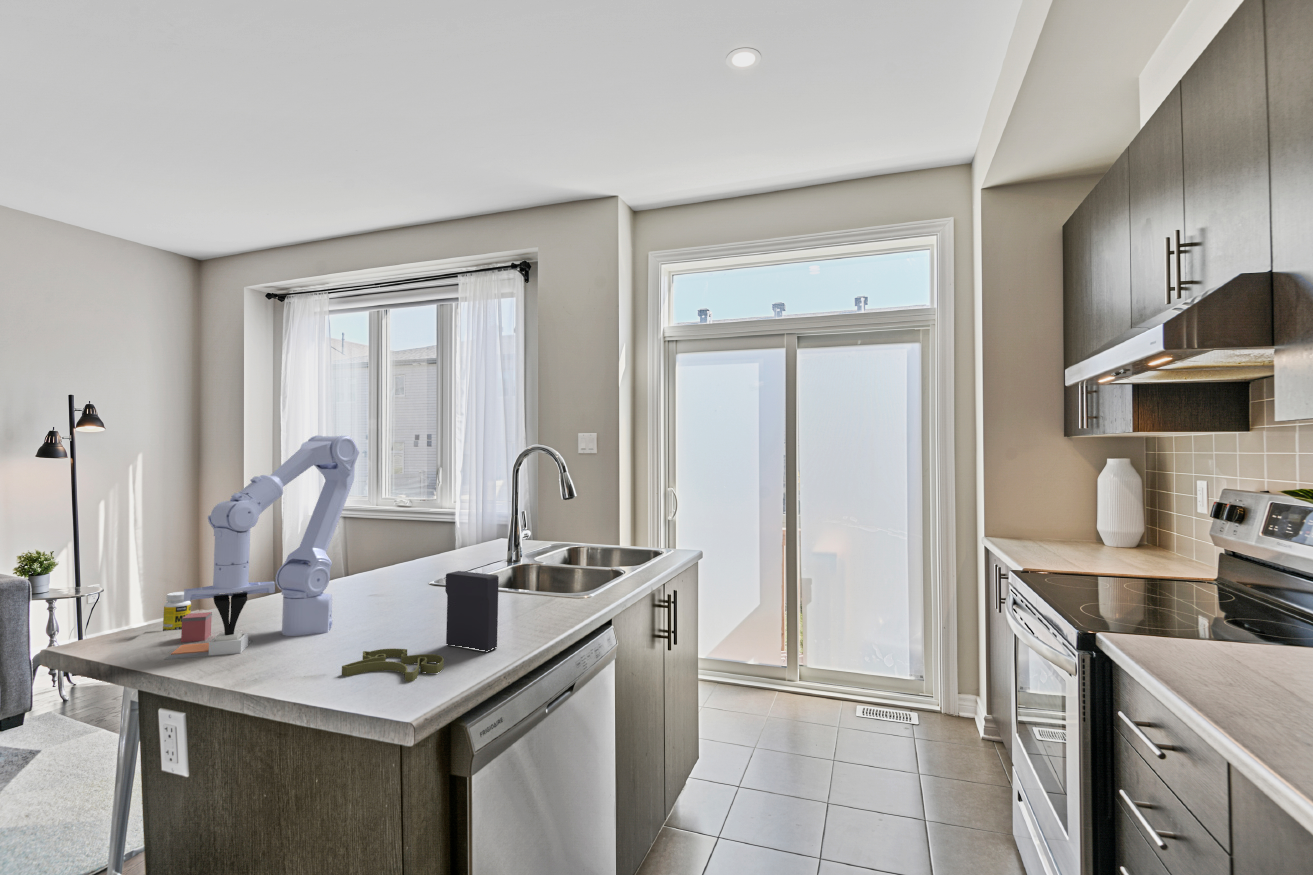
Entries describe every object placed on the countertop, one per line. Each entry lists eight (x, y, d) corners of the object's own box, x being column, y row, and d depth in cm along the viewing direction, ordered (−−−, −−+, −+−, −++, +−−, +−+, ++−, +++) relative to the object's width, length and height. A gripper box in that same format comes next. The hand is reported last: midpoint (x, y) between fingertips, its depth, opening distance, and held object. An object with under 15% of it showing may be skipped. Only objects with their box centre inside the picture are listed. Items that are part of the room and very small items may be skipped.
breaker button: (242, 645, 124) (242, 630, 125) (237, 651, 121) (237, 635, 121) (220, 647, 123) (221, 631, 123) (214, 652, 120) (215, 636, 120)
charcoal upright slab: (499, 648, 130) (501, 574, 130) (485, 653, 126) (487, 577, 126) (458, 641, 134) (460, 569, 135) (443, 646, 130) (445, 573, 131)
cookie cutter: (330, 677, 113) (331, 665, 113) (373, 656, 124) (373, 646, 124) (422, 685, 109) (422, 673, 109) (457, 663, 121) (457, 653, 121)
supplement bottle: (175, 635, 136) (176, 596, 136) (156, 634, 137) (158, 594, 137) (195, 629, 140) (196, 591, 141) (177, 628, 141) (179, 590, 142)
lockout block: (211, 640, 132) (212, 611, 132) (204, 646, 128) (205, 616, 129) (187, 642, 131) (188, 613, 131) (180, 648, 127) (181, 618, 127)
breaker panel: (252, 646, 129) (252, 628, 129) (240, 659, 120) (240, 640, 120) (181, 651, 125) (182, 633, 125) (163, 665, 116) (164, 646, 116)
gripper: (273, 557, 130) (270, 623, 130) (185, 563, 122) (182, 634, 121) (276, 561, 125) (274, 631, 124) (185, 568, 116) (182, 643, 115)
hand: (229, 633), depth 122 cm, fingers closed, pressing on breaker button
